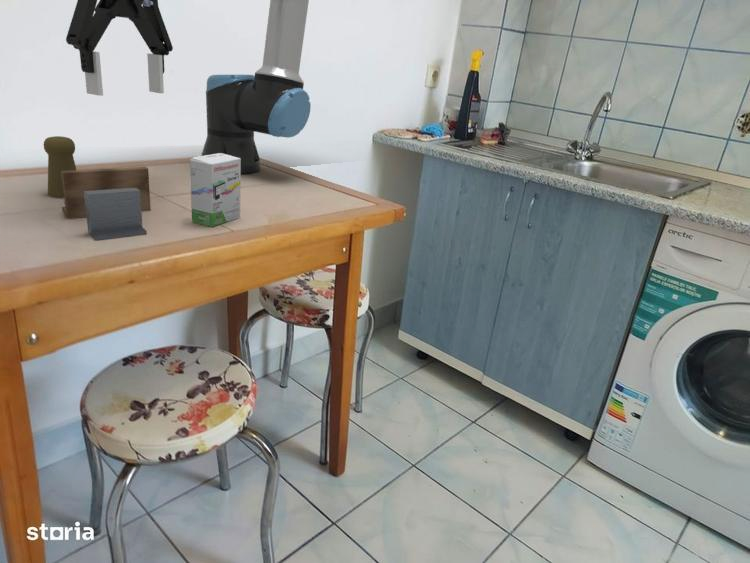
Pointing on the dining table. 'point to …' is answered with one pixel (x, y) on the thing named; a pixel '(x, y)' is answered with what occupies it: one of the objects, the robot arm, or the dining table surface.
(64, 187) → the brown boxy piece
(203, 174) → the ink box
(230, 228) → the dining table surface
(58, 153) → the cork
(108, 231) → the bookend
